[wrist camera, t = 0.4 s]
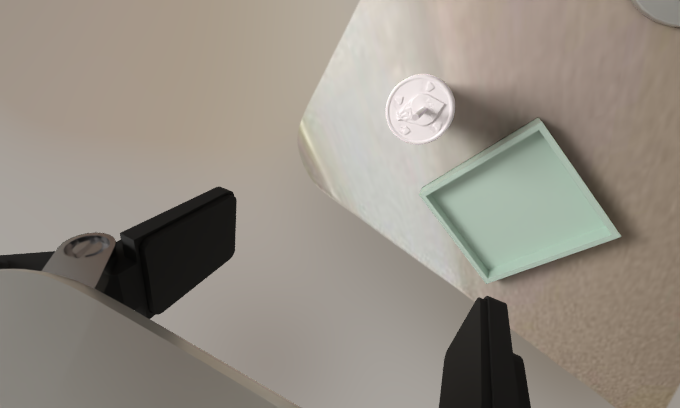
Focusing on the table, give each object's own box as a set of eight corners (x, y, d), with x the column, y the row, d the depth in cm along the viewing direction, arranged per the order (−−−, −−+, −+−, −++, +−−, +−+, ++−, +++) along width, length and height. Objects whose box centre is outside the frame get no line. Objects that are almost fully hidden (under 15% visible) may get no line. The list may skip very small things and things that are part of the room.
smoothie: (465, 119, 36) (456, 148, 24) (412, 132, 39) (381, 164, 27) (456, 62, 34) (441, 64, 22) (400, 80, 37) (361, 90, 25)
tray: (538, 117, 33) (541, 121, 31) (613, 225, 34) (621, 236, 32) (422, 187, 41) (419, 194, 39) (486, 272, 42) (486, 283, 40)
